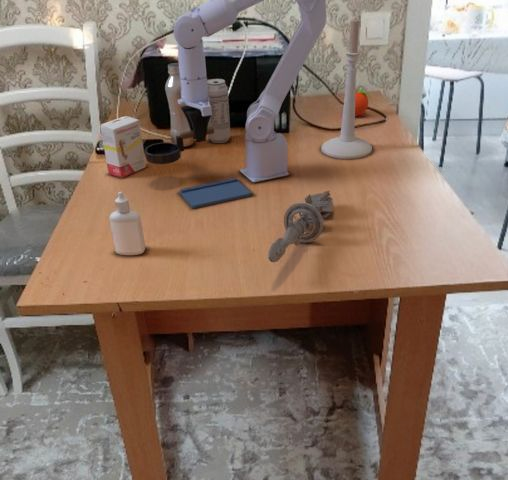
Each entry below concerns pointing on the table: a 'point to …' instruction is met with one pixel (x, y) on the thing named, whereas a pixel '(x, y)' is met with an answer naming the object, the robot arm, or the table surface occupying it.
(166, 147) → the pan
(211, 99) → the energy drink can
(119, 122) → the ink box
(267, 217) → the table surface
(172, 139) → the plastic bottle
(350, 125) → the candlestick
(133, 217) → the eye dropper bottle
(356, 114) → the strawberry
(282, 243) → the spaceship
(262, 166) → the robot arm
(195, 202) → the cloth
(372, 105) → the table surface
